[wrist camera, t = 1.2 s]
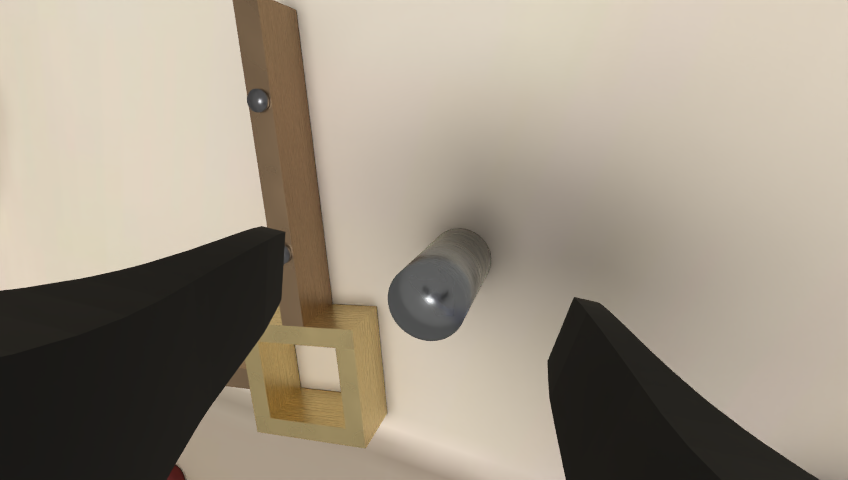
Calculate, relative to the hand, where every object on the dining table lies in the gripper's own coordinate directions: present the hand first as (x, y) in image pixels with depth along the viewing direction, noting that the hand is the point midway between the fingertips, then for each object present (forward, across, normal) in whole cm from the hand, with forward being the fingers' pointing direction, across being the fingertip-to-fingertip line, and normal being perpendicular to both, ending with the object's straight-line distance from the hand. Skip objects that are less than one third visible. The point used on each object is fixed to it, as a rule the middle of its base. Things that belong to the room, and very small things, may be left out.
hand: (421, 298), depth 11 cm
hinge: (+13, +13, +7) cm, 20 cm away
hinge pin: (+10, -2, +4) cm, 11 cm away
